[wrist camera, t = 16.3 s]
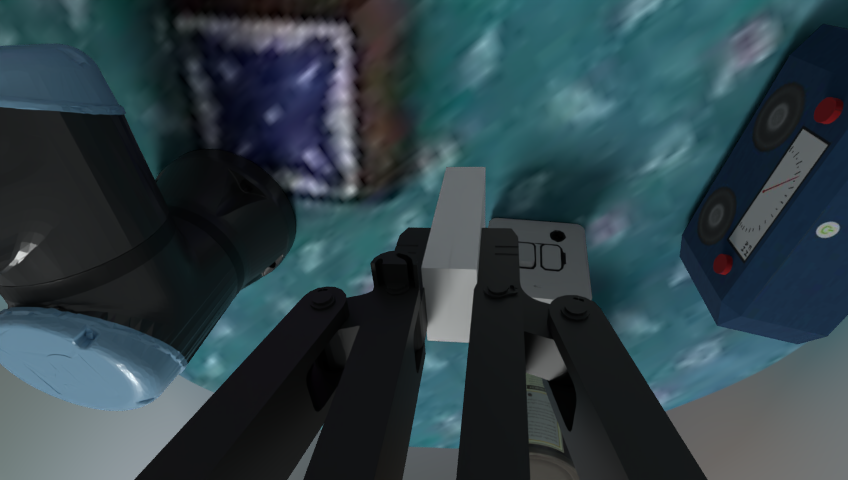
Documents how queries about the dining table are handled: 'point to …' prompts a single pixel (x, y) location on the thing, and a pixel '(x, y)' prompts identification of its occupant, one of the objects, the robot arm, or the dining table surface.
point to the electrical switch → (550, 258)
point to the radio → (782, 206)
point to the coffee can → (546, 437)
